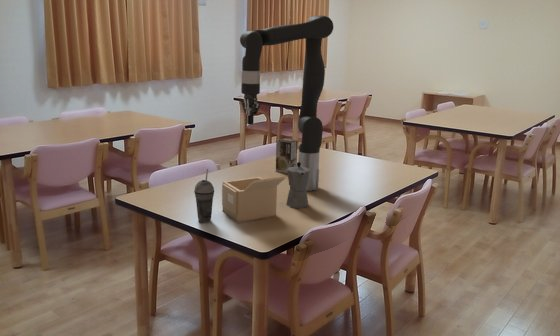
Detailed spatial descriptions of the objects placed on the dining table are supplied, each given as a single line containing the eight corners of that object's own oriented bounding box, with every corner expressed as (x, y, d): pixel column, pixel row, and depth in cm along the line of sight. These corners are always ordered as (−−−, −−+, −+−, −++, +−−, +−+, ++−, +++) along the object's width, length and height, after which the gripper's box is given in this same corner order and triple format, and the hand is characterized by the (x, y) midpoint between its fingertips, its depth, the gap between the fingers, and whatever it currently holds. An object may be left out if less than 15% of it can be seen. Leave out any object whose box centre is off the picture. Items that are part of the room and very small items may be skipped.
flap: (243, 190, 182) (253, 180, 175) (274, 185, 189) (285, 176, 182) (244, 191, 182) (253, 182, 175) (275, 187, 189) (285, 178, 181)
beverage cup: (195, 217, 190) (194, 166, 184) (214, 217, 190) (214, 166, 185) (193, 224, 182) (193, 171, 177) (214, 224, 183) (213, 171, 178)
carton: (219, 210, 197) (219, 181, 194) (259, 204, 206) (260, 176, 203) (236, 223, 185) (236, 192, 182) (278, 215, 194) (278, 185, 191)
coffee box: (296, 171, 257) (298, 140, 253) (290, 174, 252) (291, 142, 247) (281, 168, 262) (282, 138, 257) (275, 171, 256) (275, 140, 252)
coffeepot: (312, 209, 202) (315, 166, 198) (290, 210, 200) (291, 166, 195) (302, 197, 217) (304, 156, 212) (281, 198, 215) (282, 157, 210)
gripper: (266, 83, 201) (265, 126, 206) (251, 80, 212) (250, 121, 217) (250, 83, 198) (249, 127, 202) (235, 80, 209) (235, 122, 213)
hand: (250, 124), depth 210 cm, fingers closed
